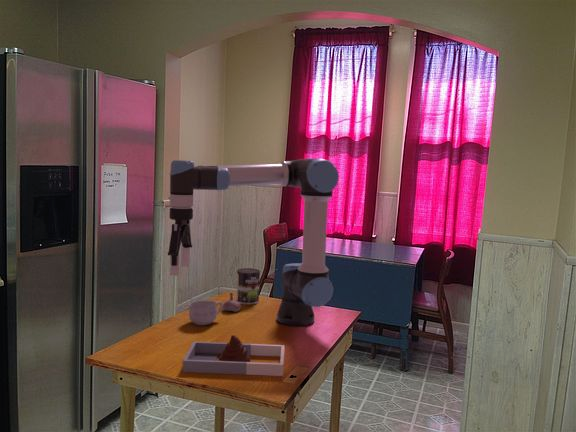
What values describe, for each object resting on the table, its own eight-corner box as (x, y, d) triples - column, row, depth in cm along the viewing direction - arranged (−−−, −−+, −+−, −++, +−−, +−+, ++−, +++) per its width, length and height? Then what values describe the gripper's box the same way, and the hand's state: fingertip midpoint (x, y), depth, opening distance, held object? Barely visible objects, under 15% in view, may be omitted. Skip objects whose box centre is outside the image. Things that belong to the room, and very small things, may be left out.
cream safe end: (246, 374, 153) (246, 363, 152) (250, 354, 169) (251, 343, 168) (282, 376, 153) (283, 364, 152) (284, 355, 169) (284, 345, 168)
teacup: (191, 328, 191) (192, 308, 190) (185, 320, 201) (185, 300, 200) (227, 325, 196) (228, 305, 196) (219, 316, 206) (220, 297, 205)
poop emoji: (219, 370, 156) (220, 340, 155) (217, 359, 164) (218, 330, 163) (251, 368, 158) (252, 339, 157) (248, 357, 166) (249, 329, 165)
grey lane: (182, 371, 153) (182, 360, 153) (193, 351, 169) (193, 341, 169) (246, 374, 153) (246, 363, 152) (250, 354, 169) (251, 343, 168)
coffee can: (263, 302, 228) (264, 271, 226) (242, 305, 223) (243, 274, 221) (252, 297, 237) (253, 267, 235) (232, 299, 231) (232, 269, 230)
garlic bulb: (219, 310, 215) (219, 291, 214) (233, 307, 220) (233, 289, 219) (230, 314, 210) (230, 295, 209) (244, 311, 215) (244, 293, 214)
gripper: (179, 203, 181) (178, 262, 183) (158, 210, 156) (157, 278, 158) (200, 204, 180) (199, 263, 183) (183, 211, 156) (181, 280, 158)
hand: (180, 270), depth 171 cm, fingers open, 13 cm apart
